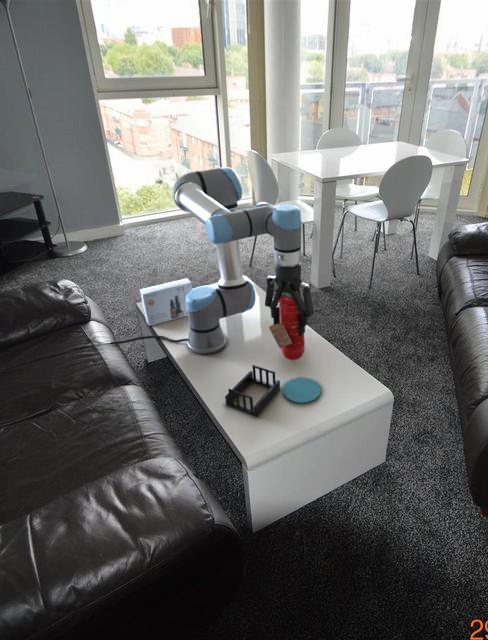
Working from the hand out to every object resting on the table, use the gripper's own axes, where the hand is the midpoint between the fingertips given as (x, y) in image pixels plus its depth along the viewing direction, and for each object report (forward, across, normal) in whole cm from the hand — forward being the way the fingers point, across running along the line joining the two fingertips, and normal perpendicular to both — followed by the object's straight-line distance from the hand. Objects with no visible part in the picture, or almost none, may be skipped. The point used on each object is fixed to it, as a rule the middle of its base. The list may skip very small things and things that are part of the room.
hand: (289, 330), depth 137 cm
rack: (+25, -10, -8) cm, 28 cm away
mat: (+25, +3, +3) cm, 26 cm away
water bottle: (+10, 0, 0) cm, 10 cm away
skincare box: (+25, -71, +19) cm, 78 cm away
